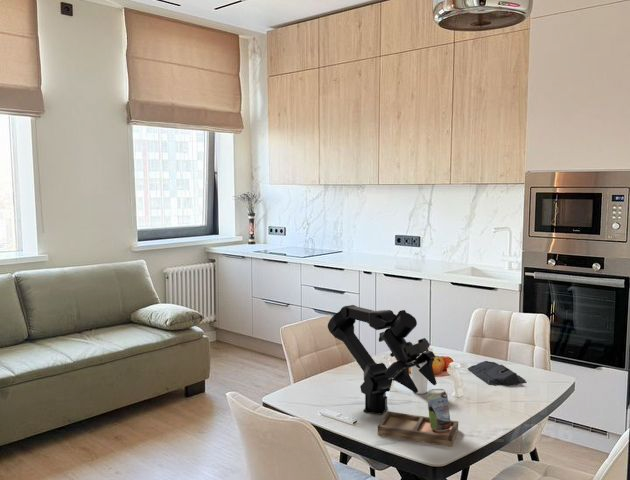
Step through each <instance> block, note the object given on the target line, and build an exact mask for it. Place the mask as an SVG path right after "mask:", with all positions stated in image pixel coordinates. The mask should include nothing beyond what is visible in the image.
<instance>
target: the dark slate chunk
mask: <svg viewBox="0 0 630 480" xmlns="http://www.w3.org/2000/svg"><path fill="white" fill-rule="evenodd" d="M467 369H468V370H467V371H469V372H470V373H472V375H474V376H475V377H476V378H478V379H479V380H481V381H482V382H484V383H485V384H486V385H488V386H495V387H497V386H498V387H499V386H516V385H521V384H523V383H526V382H527V381H526V379H525V378H523V377H522V376H520V375H518V374H517V372H515V371H513V370H511V369H510V368H508V367H506V366H505V365H503V364H499V363H497V362H494V361H488V360H484V361H482V362H479V363H477V364H473V365H470V366H468V367H467Z"/></svg>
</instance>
